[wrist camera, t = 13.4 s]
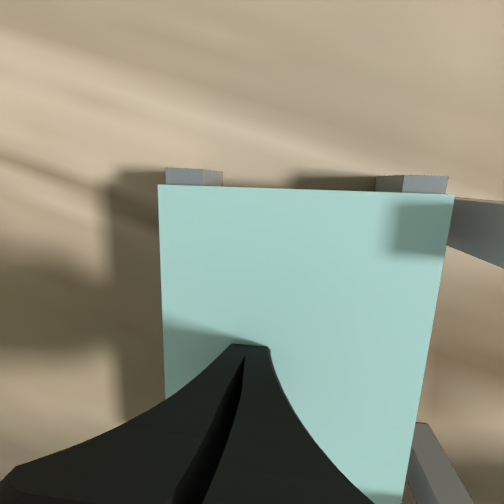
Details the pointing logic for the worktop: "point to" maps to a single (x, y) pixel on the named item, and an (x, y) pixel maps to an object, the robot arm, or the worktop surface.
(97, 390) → the worktop surface
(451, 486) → the grey frame
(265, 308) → the cover
